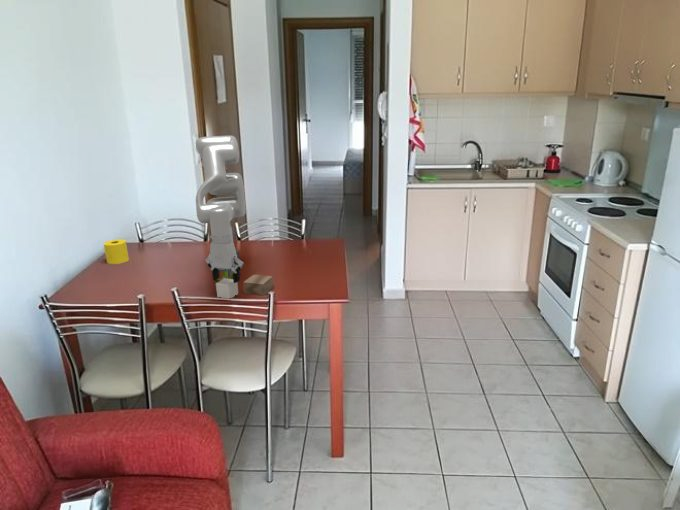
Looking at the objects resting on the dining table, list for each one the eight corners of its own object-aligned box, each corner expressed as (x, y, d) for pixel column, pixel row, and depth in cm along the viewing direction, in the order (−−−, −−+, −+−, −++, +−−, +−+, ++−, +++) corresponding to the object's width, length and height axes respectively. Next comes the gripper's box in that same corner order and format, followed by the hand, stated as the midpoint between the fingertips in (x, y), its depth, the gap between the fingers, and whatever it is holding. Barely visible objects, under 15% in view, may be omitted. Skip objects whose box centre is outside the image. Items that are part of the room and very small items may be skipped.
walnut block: (244, 293, 213) (243, 282, 212) (254, 285, 222) (253, 274, 220) (264, 295, 211) (263, 284, 209) (273, 287, 219) (273, 276, 217)
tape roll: (119, 264, 252) (115, 246, 249) (102, 263, 256) (99, 244, 253) (133, 258, 261) (130, 240, 258) (116, 256, 265) (113, 238, 262)
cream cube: (217, 297, 210) (215, 283, 208) (226, 291, 216) (224, 278, 214) (229, 299, 208) (228, 285, 206) (238, 293, 213) (237, 279, 211)
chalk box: (221, 273, 236) (217, 242, 231) (241, 274, 235) (238, 242, 230) (214, 281, 227) (210, 248, 223) (234, 281, 226) (231, 248, 221)
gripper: (197, 239, 204) (202, 281, 209) (235, 243, 197) (239, 286, 202) (209, 235, 211) (214, 275, 216) (246, 238, 204) (250, 279, 209)
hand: (226, 280), depth 209 cm, fingers open, 9 cm apart
